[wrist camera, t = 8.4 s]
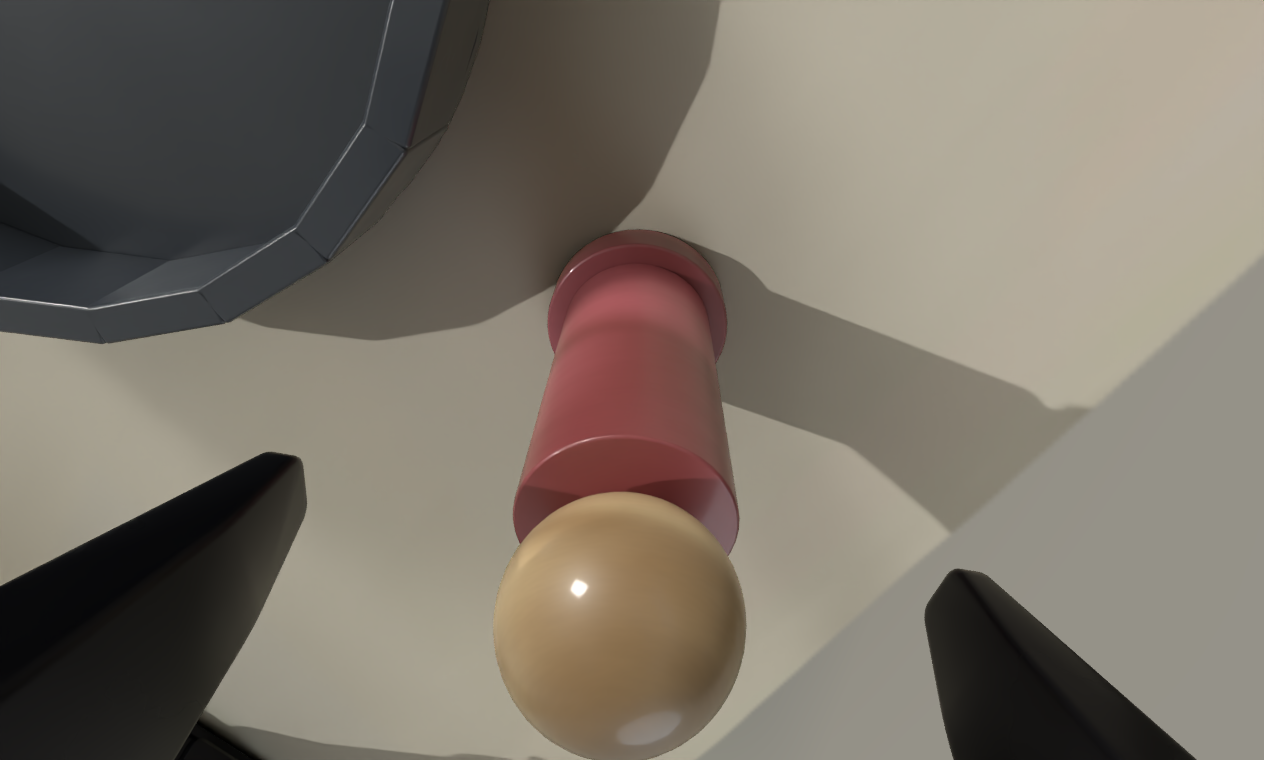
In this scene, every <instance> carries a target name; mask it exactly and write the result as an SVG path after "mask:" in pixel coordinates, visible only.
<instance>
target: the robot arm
mask: <svg viewBox="0 0 1264 760" xmlns="http://www.w3.org/2000/svg"><path fill="white" fill-rule="evenodd" d="M306 508H307V497H306V488H305V478H304V469H303V463H302V461H301V459H300V458H299V457H297V456H294V455H288V454H282V453H276V452H265V453H262V454H260V455H258V456H256V457H254V458H252V459H250V460H248V461H246V462H244V463H242V464H240V465H238V466H236V467H234V468H232V469H230V470H228V471H226V472H224V473H222V474H220V475H219V476H217V477H215V478H213V479H211V480H209V481H207V482H205V483H203V484H201V485H199V486H197V487H195V488H193V489H191V490H189V491H187V492H185V493H183V494H181V495H179V496H177V497H175V498H173V499H171V500H169V501H167V502H165V503H163V504H161V505H159V506H157V507H155V508H153V509H151V510H149V511H147V512H145V513H144V514H142V515H140V516H138V517H136V518H134V519H132V520H130V521H128V522H126V523H124V524H122V525H120V526H118V527H116V528H114V529H112V530H110V531H108V532H106V533H104V534H102V535H100V536H98V537H96V538H94V539H92V540H90V541H88V542H86V543H84V544H82V545H80V546H78V547H76V548H74V549H72V550H70V551H69V552H67V553H65V554H63V555H61V556H59V557H57V558H55V559H53V560H51V561H49V562H47V563H45V564H43V565H41V566H39V567H37V568H35V569H33V570H31V571H29V572H27V573H25V574H23V575H21V576H19V577H17V578H15V579H13V580H11V581H9V582H7V583H5V584H3V585H1V586H0V760H252V759H251V758H249V757H248V756H246V755H245V754H243V753H241V752H240V751H238V750H237V749H235V748H234V747H232V746H231V745H229V744H227V743H226V742H224V741H223V740H221V739H220V738H218V737H217V736H215V735H213V734H212V733H210V732H209V731H207V730H206V729H204V728H202V727H201V726H199V725H198V724H196V723H197V721H198V719H199V718H200V716H201V714H202V713H203V711H204V709H205V708H206V706H207V704H208V703H209V701H210V699H211V698H212V696H213V694H214V693H215V691H216V689H217V688H218V686H219V684H220V683H221V681H222V679H223V678H224V676H225V674H226V673H227V671H228V669H229V668H230V666H231V664H232V663H233V661H234V659H235V658H236V656H237V654H238V653H239V651H240V649H241V648H242V646H243V644H244V642H245V641H246V639H247V637H248V635H249V634H250V632H251V630H252V628H253V627H254V625H255V623H256V621H257V619H258V617H259V615H260V612H261V610H262V608H263V606H264V604H265V602H266V600H267V598H268V595H269V593H270V591H271V589H272V587H273V585H274V582H275V580H276V578H277V576H278V574H279V571H280V569H281V567H282V565H283V563H284V561H285V558H286V556H287V554H288V552H289V550H290V548H291V545H292V543H293V541H294V539H295V537H296V535H297V532H298V530H299V528H300V526H301V524H302V521H303V519H304V516H305V513H306ZM925 626H926V632H927V637H928V642H929V647H930V653H931V658H932V664H933V669H934V674H935V680H936V685H937V691H938V696H939V701H940V707H941V712H942V716H943V720H944V726H945V730H946V733H947V738H948V741H949V745H950V749H951V752H952V756H953V759H954V760H1196V759H1195V758H1194V757H1193V756H1192V755H1191V754H1189V753H1188V752H1187V751H1186V750H1185V749H1184V748H1183V747H1181V746H1180V745H1179V744H1178V743H1177V742H1176V741H1175V740H1174V739H1173V738H1171V737H1170V736H1169V735H1168V734H1167V733H1166V732H1165V731H1163V730H1162V729H1161V728H1160V727H1159V726H1158V725H1157V724H1155V723H1154V722H1153V721H1152V720H1151V719H1150V718H1149V717H1148V716H1146V715H1145V714H1144V713H1143V712H1142V711H1141V710H1140V709H1138V708H1137V707H1136V706H1135V705H1134V704H1133V703H1132V702H1130V701H1129V700H1128V699H1127V698H1126V697H1124V695H1122V694H1121V693H1120V692H1119V691H1118V690H1117V689H1116V688H1115V687H1113V686H1112V685H1111V684H1110V683H1109V682H1108V681H1107V680H1105V679H1104V678H1103V677H1102V676H1101V675H1100V674H1099V673H1097V672H1096V671H1095V670H1094V669H1093V668H1092V667H1091V666H1089V665H1088V664H1087V663H1086V662H1085V661H1084V660H1083V659H1081V658H1080V657H1079V656H1078V655H1077V654H1076V653H1075V652H1074V651H1072V650H1071V649H1070V648H1069V647H1068V646H1067V645H1066V644H1064V643H1063V642H1062V641H1061V640H1060V639H1059V638H1058V637H1056V636H1055V635H1054V634H1053V633H1052V632H1051V631H1050V630H1049V629H1047V628H1046V627H1045V626H1044V625H1043V624H1042V623H1041V622H1039V621H1038V620H1037V619H1036V618H1035V617H1034V616H1033V615H1031V614H1030V613H1029V612H1028V611H1027V610H1026V609H1024V607H1022V606H1021V605H1020V604H1019V603H1018V602H1017V601H1016V600H1014V599H1013V598H1012V597H1011V596H1010V595H1009V594H1008V593H1007V592H1005V591H1004V590H1003V589H1002V588H1001V587H1000V586H999V585H997V584H996V583H995V582H994V581H993V580H991V578H989V577H988V576H987V575H985V574H983V573H980V572H976V571H970V570H964V569H954V570H952V571H950V572H949V573H948V574H947V576H946V577H945V578H944V580H943V582H942V583H941V584H940V586H939V587H938V589H937V590H936V592H935V593H934V594H933V596H932V597H931V599H930V600H929V602H928V604H927V606H926V609H925Z"/></svg>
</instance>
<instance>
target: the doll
mask: <svg viewBox="0 0 1264 760" xmlns="http://www.w3.org/2000/svg"><path fill="white" fill-rule="evenodd" d="M548 334H549V339H550V343H551V346H552V349H553V351H554V353H555V356H554V360H553V363H552V367H551V370H550V374H549V377H548V381H547V385H546V388H545V392H544V395H543V399H542V403H541V406H540V410H539V413H538V417H537V421H536V424H535V428H534V431H533V435H532V438H531V442H530V446H529V449H528V453H527V456H526V460H525V464H524V467H523V471H522V474H521V478H520V482H519V485H518V489H517V492H516V496H515V500H514V506H513V522H514V527H515V532H516V534H517V537H518V540H519V542H520V545H519V546H518V548H517V550H516V551H515V553H514V555H513V556H512V558H511V560H510V562H509V564H508V565H507V567H506V570H505V572H504V575H503V578H502V581H501V583H500V586H499V589H498V593H497V599H496V604H495V610H494V621H493V635H494V646H495V654H496V658H497V662H498V666H499V669H500V673H501V676H502V679H503V681H504V684H505V686H506V688H507V690H508V692H509V694H510V696H511V698H512V700H513V702H514V703H515V704H516V706H517V707H518V709H519V710H520V711H521V713H522V714H523V716H524V717H525V718H526V720H527V721H528V722H529V723H530V724H531V725H532V726H533V727H534V728H535V729H536V730H537V731H539V732H540V733H541V734H542V735H543V736H544V737H546V738H547V739H548V740H550V741H551V742H553V743H554V744H556V745H558V746H559V747H561V748H563V749H565V750H567V751H569V752H571V753H573V754H575V755H578V756H581V757H584V758H587V759H592V760H647V759H650V758H654V757H657V756H659V755H662V754H664V753H666V752H669V751H671V750H673V749H675V748H677V747H679V746H681V745H682V744H684V743H685V742H687V741H688V740H689V739H691V738H692V737H693V736H695V735H696V734H698V733H699V732H700V731H701V730H702V729H703V728H704V727H705V726H706V725H707V724H708V723H709V722H710V721H711V720H712V719H713V717H714V716H715V715H716V714H717V712H718V711H719V710H720V708H721V707H722V705H723V704H724V702H725V701H726V699H727V697H728V695H729V694H730V692H731V690H732V688H733V685H734V683H735V681H736V678H737V676H738V673H739V669H740V666H741V662H742V658H743V654H744V648H745V637H746V612H745V604H744V598H743V594H742V589H741V586H740V583H739V580H738V577H737V574H736V572H735V569H734V567H733V565H732V563H731V561H730V559H729V557H728V555H729V554H730V552H731V550H732V548H733V546H734V544H735V541H736V538H737V534H738V530H739V511H738V503H737V497H736V491H735V484H734V478H733V472H732V465H731V459H730V452H729V446H728V440H727V433H726V427H725V421H724V414H723V408H722V402H721V395H720V389H719V382H718V376H717V370H716V362H717V361H718V359H719V357H720V355H721V353H722V350H723V347H724V344H725V340H726V334H727V315H726V309H725V304H724V299H723V295H722V291H721V287H720V284H719V282H718V279H717V277H716V275H715V273H714V271H713V270H712V268H711V266H710V265H709V264H708V263H707V261H706V260H705V259H704V258H703V257H702V256H701V255H700V254H699V253H698V252H697V251H696V250H695V249H693V248H692V247H691V246H689V245H688V244H686V243H685V242H683V241H681V240H679V239H677V238H675V237H673V236H670V235H667V234H664V233H660V232H656V231H650V230H625V231H619V232H614V233H611V234H608V235H605V236H602V237H600V238H598V239H596V240H594V241H592V242H591V243H589V244H587V245H586V246H584V247H583V248H582V249H581V250H579V251H578V252H577V253H576V254H575V255H574V256H573V257H572V258H571V259H570V261H569V262H568V263H567V265H566V266H565V268H564V269H563V271H562V273H561V275H560V277H559V279H558V281H557V284H556V287H555V290H554V293H553V296H552V299H551V302H550V305H549V311H548Z"/></svg>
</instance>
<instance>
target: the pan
mask: <svg viewBox="0 0 1264 760" xmlns="http://www.w3.org/2000/svg"><path fill="white" fill-rule="evenodd" d="M488 4H489V0H0V331H1V332H9V333H17V334H25V335H33V336H42V337H50V338H58V339H66V340H74V341H82V342H90V343H98V344H104V343H115V342H121V341H126V340H132V339H138V338H144V337H150V336H156V335H162V334H167V333H173V332H179V331H185V330H191V329H197V328H203V327H208V326H214V325H220V324H225V323H228V322H232V321H233V320H235V319H237V318H238V317H240V316H241V315H243V314H245V313H246V312H248V311H250V310H251V309H253V308H255V307H256V306H258V305H260V304H261V303H263V302H265V301H266V300H268V299H270V298H271V297H273V296H275V295H276V294H278V293H280V292H281V291H283V290H285V289H286V288H288V287H290V286H291V285H293V284H295V283H296V282H298V281H300V280H301V279H303V278H305V277H306V276H308V275H310V274H311V273H313V272H315V271H316V270H318V269H320V268H321V267H323V266H325V265H326V264H328V263H329V262H330V261H331V260H333V259H334V258H335V257H336V256H337V255H339V254H340V253H341V252H342V251H343V250H345V249H346V248H347V247H348V246H349V245H351V244H352V243H353V242H354V241H355V240H357V239H358V238H359V237H360V236H361V235H363V234H364V233H365V232H366V231H367V230H369V229H370V228H371V227H372V226H373V225H375V224H376V223H377V222H378V221H379V220H380V219H381V218H382V217H383V215H384V214H385V213H386V211H387V210H388V209H389V207H390V206H391V204H392V203H393V202H394V200H395V199H396V198H397V196H398V195H399V194H400V193H401V192H402V191H403V190H404V189H405V188H406V187H407V186H408V185H409V184H410V183H411V181H412V180H413V178H414V177H415V176H416V174H417V173H418V171H419V170H420V169H421V167H422V166H423V164H424V163H425V162H426V160H427V159H428V157H429V156H430V155H431V153H432V152H433V150H434V149H435V148H436V146H437V145H438V143H439V141H440V139H441V137H442V135H443V134H444V132H445V131H446V130H447V128H448V123H450V121H451V120H452V117H453V113H454V111H455V109H456V108H457V106H458V104H459V102H460V100H461V98H462V95H463V92H464V89H465V86H466V83H467V80H468V77H469V75H470V72H471V69H472V66H473V63H474V60H475V57H476V54H477V51H478V48H479V45H480V43H481V38H482V33H483V28H484V24H485V19H486V14H487V9H488Z"/></svg>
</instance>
